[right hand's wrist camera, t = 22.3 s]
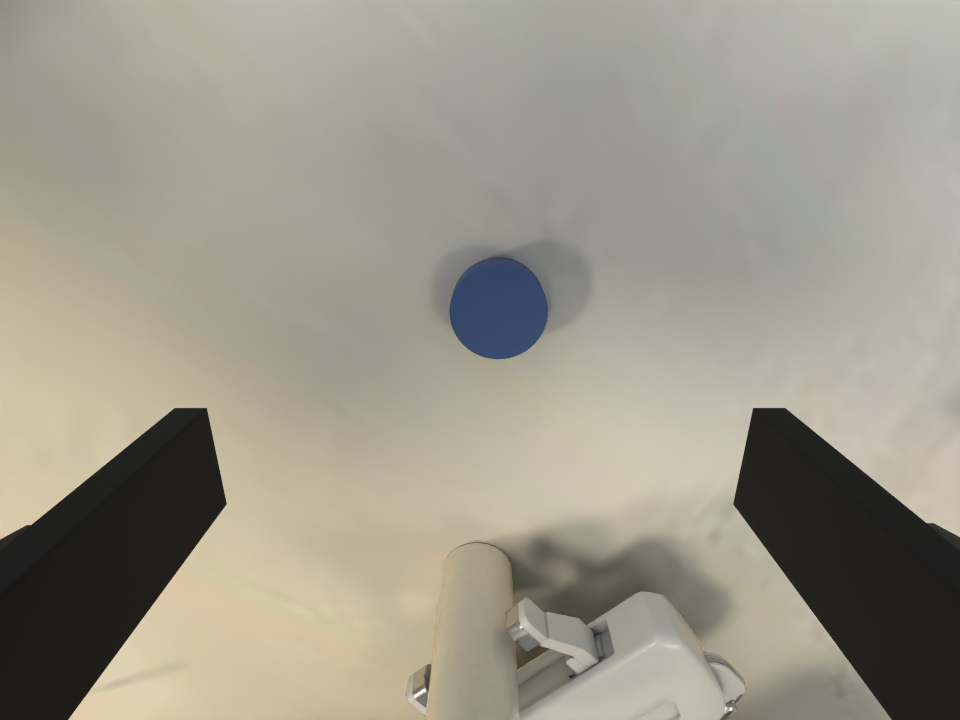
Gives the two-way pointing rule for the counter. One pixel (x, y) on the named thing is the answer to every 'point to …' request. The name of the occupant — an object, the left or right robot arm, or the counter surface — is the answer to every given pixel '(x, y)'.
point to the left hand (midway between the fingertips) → (463, 647)
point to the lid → (498, 308)
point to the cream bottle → (474, 639)
